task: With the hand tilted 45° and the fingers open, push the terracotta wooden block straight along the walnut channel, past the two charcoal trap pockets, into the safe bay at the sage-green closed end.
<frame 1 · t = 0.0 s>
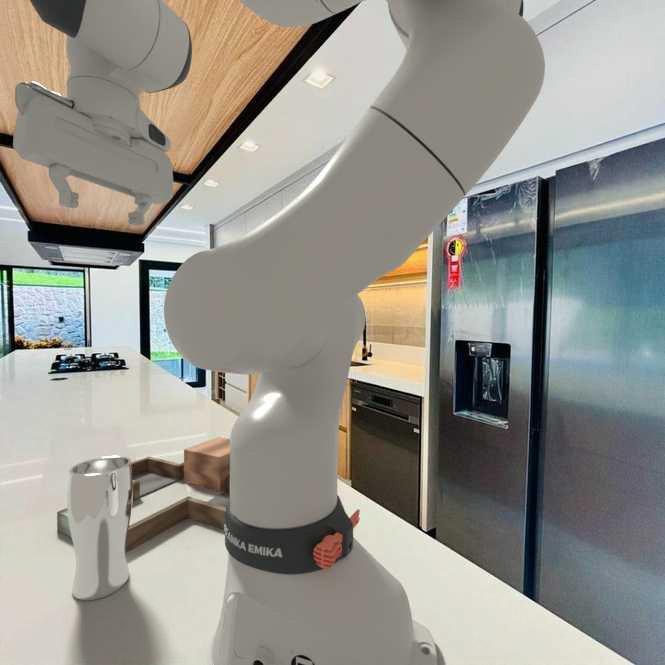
hand: (105, 216, 52), 48 cm above the countertop, tool pointing down, fingers open, 8 cm apart
terracotta block: (219, 478, 79), on the countertop
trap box: (178, 497, 70), on the countertop
beer glass: (101, 585, 46), on the countertop
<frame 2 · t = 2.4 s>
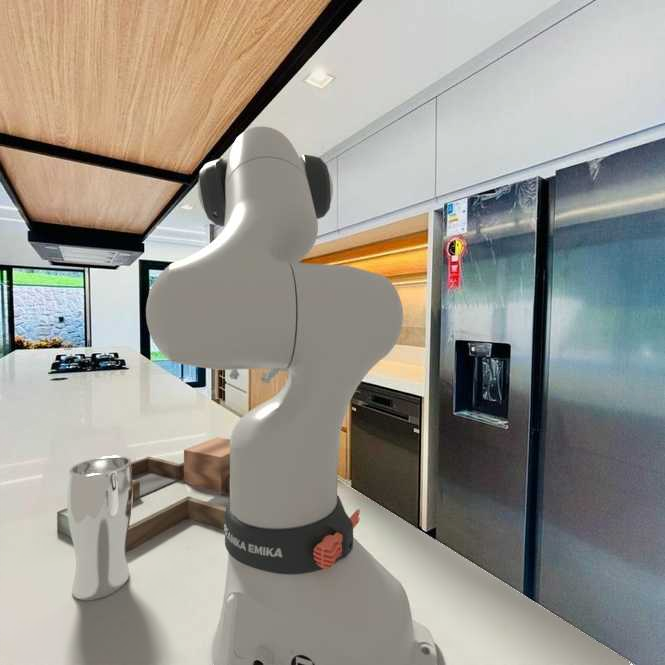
hand: (248, 379, 92), 19 cm above the countertop, tool tilted 40°, fingers open, 8 cm apart
nothing on the countertop moved.
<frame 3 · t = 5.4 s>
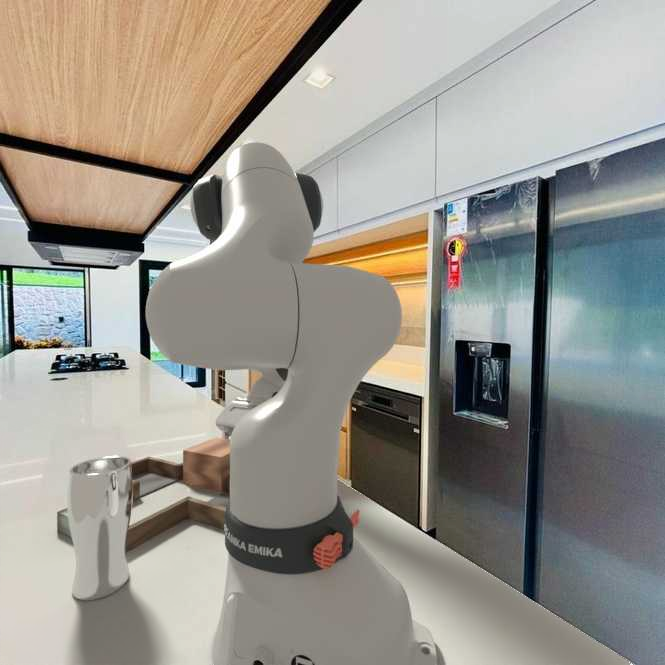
hand: (238, 450, 84), 4 cm above the countertop, tool tilted 45°, fingers open, 8 cm apart
terracotta block: (218, 478, 79), on the countertop, touching gripper
everything else where it was.
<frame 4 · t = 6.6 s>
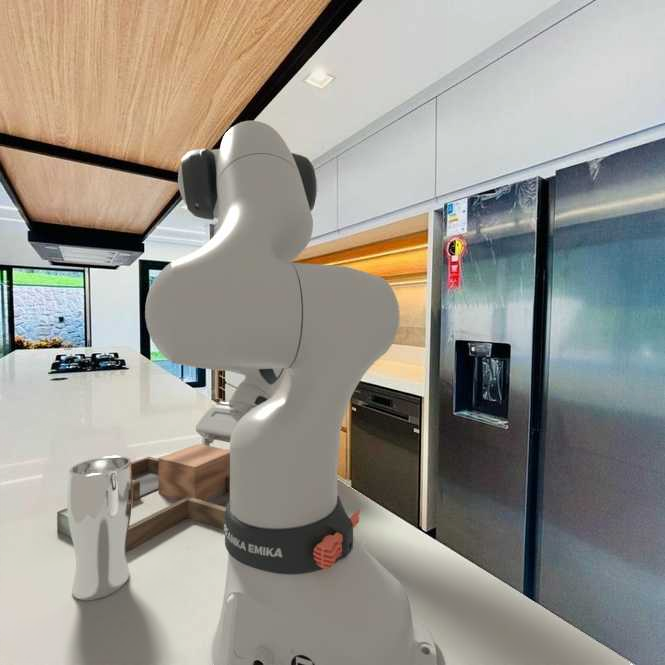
hand: (218, 459, 79), 4 cm above the countertop, tool tilted 45°, fingers open, 8 cm apart
terracotta block: (197, 489, 74), on the countertop, touching gripper
everything else where it was.
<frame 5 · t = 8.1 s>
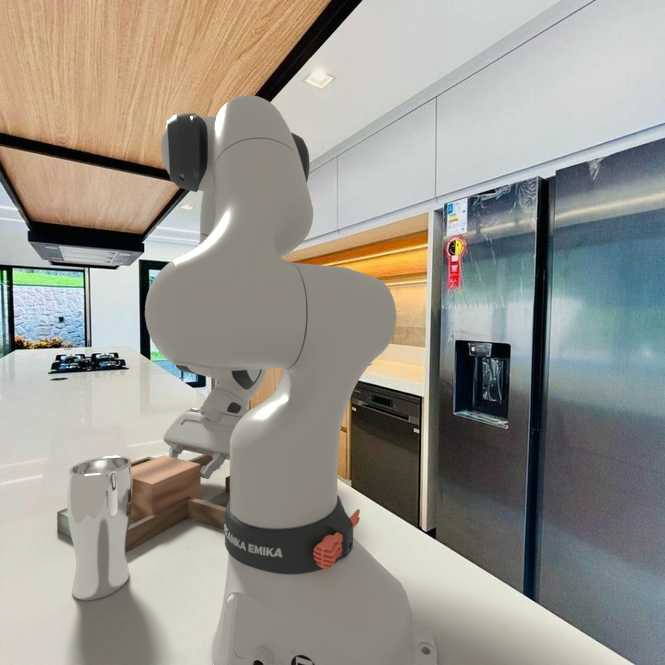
hand: (185, 472, 71), 4 cm above the countertop, tool tilted 45°
terracotta block: (158, 507, 66), on the countertop, touching gripper
everything else where it was.
when the fingers open (4 cm above the countertop, at t = 9.1 s): terracotta block stays where it is, on the countertop.
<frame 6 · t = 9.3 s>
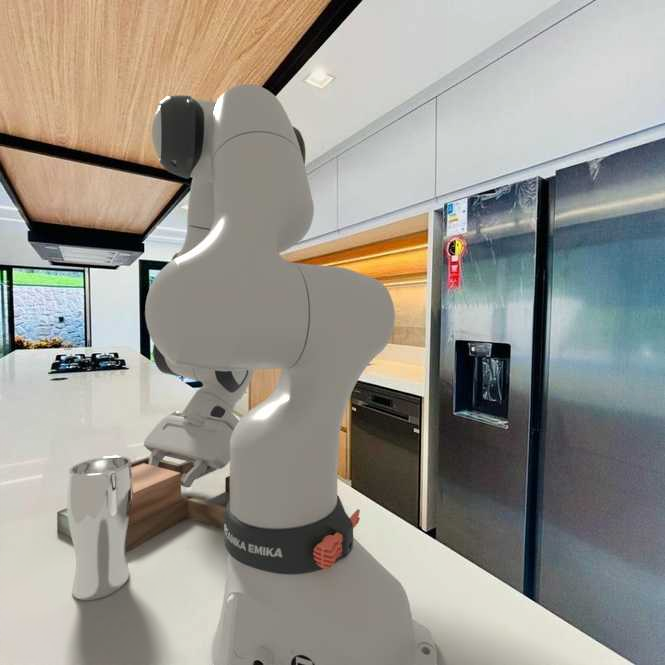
hand: (165, 480, 67), 4 cm above the countertop, tool tilted 45°, fingers open, 8 cm apart
terracotta block: (136, 518, 62), on the countertop
everything else where it was.
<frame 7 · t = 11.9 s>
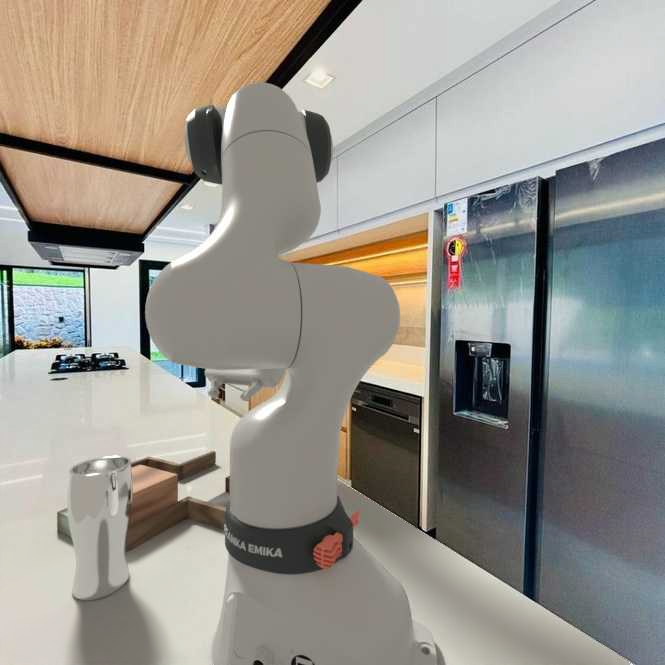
hand: (227, 397, 82), 17 cm above the countertop, tool tilted 45°, fingers open, 8 cm apart
nothing on the countertop moved.
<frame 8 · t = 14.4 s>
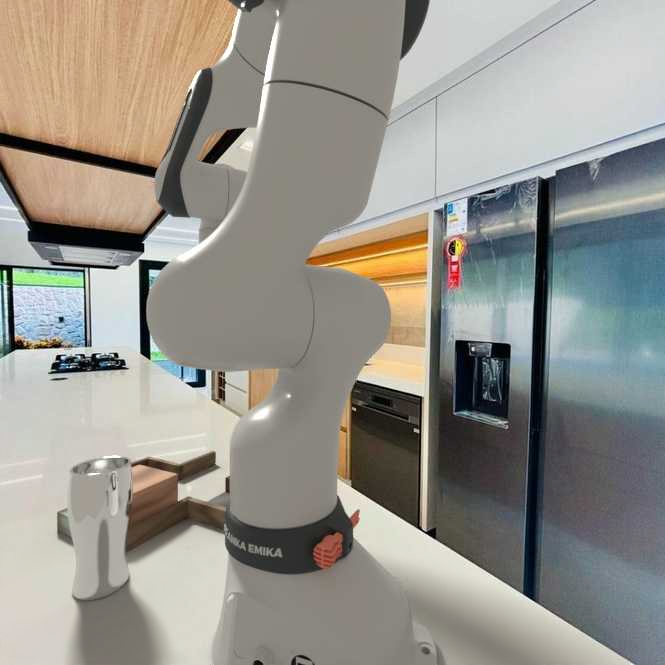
hand: (221, 314, 77), 35 cm above the countertop, tool pointing down, fingers open, 8 cm apart
nothing on the countertop moved.
at the end: terracotta block inside the target area (0.3 cm from its centre), on the countertop; terracotta block tilted 0° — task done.
